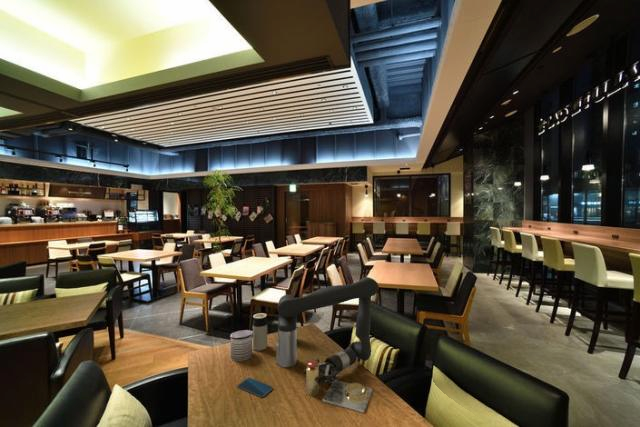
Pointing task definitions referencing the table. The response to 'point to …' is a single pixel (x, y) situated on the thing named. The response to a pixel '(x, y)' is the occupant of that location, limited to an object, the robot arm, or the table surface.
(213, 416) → the table surface
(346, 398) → the fitting plate
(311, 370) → the brass valve
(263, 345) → the travel mug
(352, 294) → the robot arm
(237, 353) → the can
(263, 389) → the smartphone
